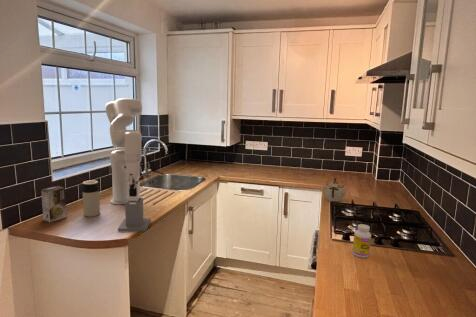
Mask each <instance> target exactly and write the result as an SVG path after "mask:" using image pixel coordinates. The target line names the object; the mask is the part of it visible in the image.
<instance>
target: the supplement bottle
mask: <svg viewBox="0 0 476 317" xmlns="http://www.w3.org/2000/svg"><path fill="white" fill-rule="evenodd" d="M371 240H372V234H371V232H370V225H368V224H363V223H360V224H357V229H356V230H354V233H353V241H352V244H353V245H352V254H353V255H354V256H355V257H357V258H364V259H365V258H368V257H369V256H370V248H371Z"/></svg>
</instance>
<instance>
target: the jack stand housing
mask: <svg viewBox="0 0 476 317" xmlns="http://www.w3.org/2000/svg"><path fill="white" fill-rule="evenodd" d="M124 206H125V209H124V210H125V213H124V214H125V218H123V220H122V222H121V223H120V225H119V226H118V228H117V232H118V231H119V233H121V232H122V231H129V232H147V230H148V228H149V226H150V223H151V218H150V217H149V218H145V217H144V197H140V201H139V202H128V199H127V201H126V202H125V204H124ZM120 231H121V232H120Z"/></svg>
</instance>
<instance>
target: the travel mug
mask: <svg viewBox="0 0 476 317" xmlns="http://www.w3.org/2000/svg"><path fill="white" fill-rule="evenodd" d="M98 183H99V181H98V180H94V179H93V180H92V179H91V180H84V181H83V182H82V184H83V186H82V188H81V191H82V207H83V216H84V217H88V218H89V217H96V216H98V215H100V214H101V208H100V187H99V186H98Z"/></svg>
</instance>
